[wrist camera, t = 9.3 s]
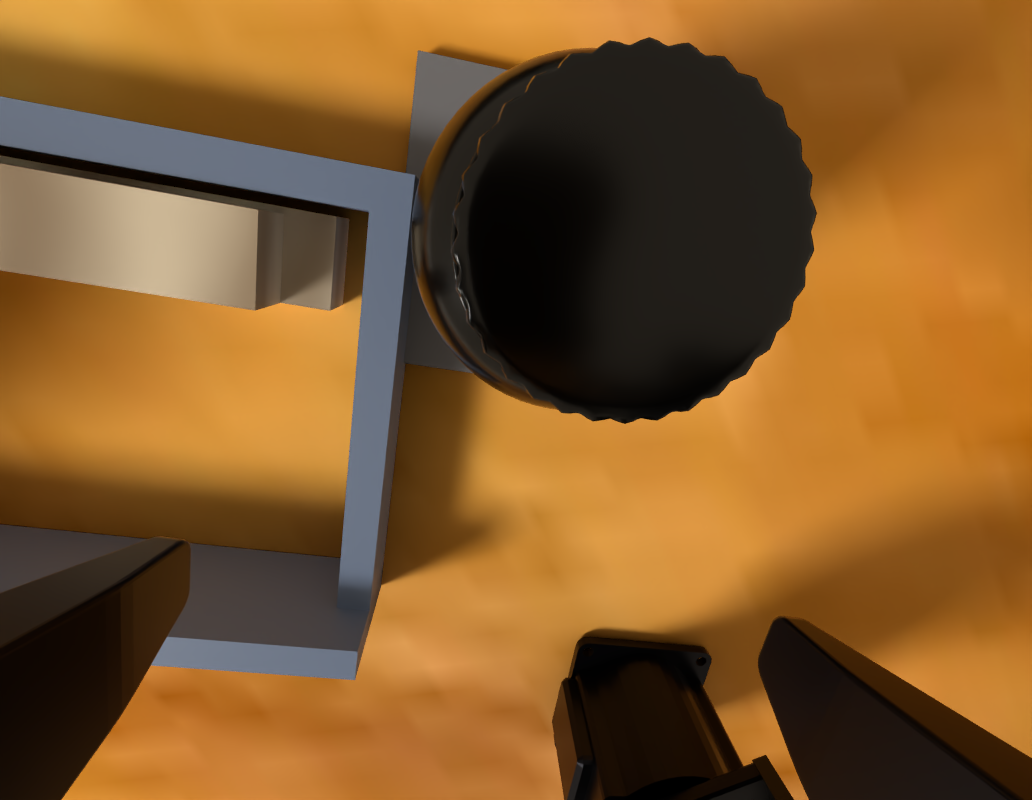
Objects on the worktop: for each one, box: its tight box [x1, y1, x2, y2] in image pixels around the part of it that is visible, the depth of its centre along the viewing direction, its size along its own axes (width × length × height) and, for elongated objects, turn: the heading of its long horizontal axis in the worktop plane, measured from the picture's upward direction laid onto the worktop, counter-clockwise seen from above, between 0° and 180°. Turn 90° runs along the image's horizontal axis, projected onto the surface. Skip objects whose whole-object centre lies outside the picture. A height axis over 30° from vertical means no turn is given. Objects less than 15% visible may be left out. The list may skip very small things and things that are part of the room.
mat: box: [404, 50, 507, 373], centre depth 18 cm, size 10×10×1 cm
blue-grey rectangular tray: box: [0, 96, 419, 680], centre depth 16 cm, size 19×16×5 cm
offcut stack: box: [0, 155, 349, 311], centre depth 16 cm, size 13×3×4 cm, turn 80°
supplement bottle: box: [411, 37, 817, 424], centre depth 12 cm, size 7×7×12 cm
